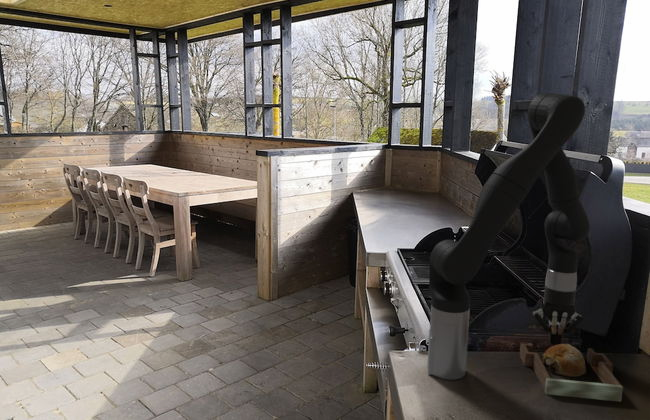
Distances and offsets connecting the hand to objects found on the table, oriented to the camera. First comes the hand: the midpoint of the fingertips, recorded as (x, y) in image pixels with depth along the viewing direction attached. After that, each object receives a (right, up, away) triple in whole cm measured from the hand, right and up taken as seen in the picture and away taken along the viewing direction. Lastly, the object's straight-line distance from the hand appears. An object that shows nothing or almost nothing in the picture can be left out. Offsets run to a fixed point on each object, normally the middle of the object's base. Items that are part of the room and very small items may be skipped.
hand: (554, 345), depth 134 cm
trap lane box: (-2, -4, -13) cm, 14 cm away
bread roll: (-2, -4, -9) cm, 10 cm away
